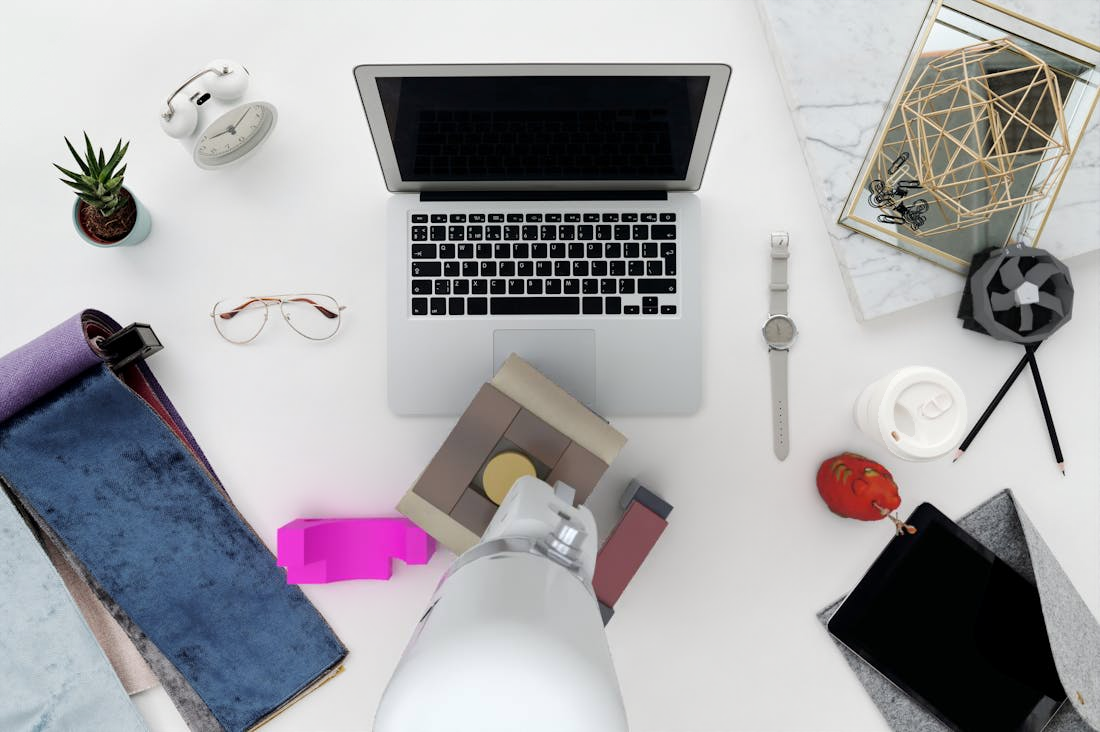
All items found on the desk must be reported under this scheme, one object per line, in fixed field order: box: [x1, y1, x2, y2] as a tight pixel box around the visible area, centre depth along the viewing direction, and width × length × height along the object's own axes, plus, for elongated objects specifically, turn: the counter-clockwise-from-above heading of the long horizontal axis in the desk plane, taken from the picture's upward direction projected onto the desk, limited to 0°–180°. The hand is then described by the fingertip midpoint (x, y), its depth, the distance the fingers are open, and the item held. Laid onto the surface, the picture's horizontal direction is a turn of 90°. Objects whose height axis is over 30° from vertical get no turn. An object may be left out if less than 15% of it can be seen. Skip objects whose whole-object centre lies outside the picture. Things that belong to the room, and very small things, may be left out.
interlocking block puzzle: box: [394, 352, 629, 558], centre depth 72 cm, size 16×12×27 cm
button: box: [483, 450, 537, 505], centre depth 59 cm, size 4×4×3 cm
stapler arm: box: [591, 499, 669, 629], centre depth 76 cm, size 13×4×3 cm, turn 146°
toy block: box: [276, 516, 436, 585], centre depth 81 cm, size 15×6×8 cm, turn 91°
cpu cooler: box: [956, 241, 1075, 347], centre depth 84 cm, size 10×6×10 cm
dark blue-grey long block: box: [618, 477, 674, 521], centre depth 81 cm, size 15×6×8 cm, turn 146°
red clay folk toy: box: [815, 451, 917, 537], centre depth 78 cm, size 8×7×15 cm
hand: (523, 542), depth 51 cm, fingers closed
